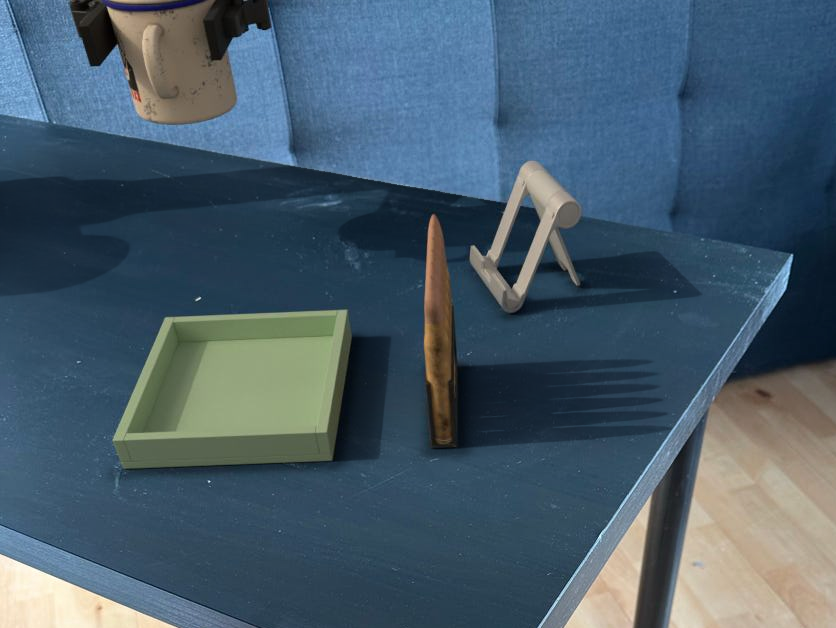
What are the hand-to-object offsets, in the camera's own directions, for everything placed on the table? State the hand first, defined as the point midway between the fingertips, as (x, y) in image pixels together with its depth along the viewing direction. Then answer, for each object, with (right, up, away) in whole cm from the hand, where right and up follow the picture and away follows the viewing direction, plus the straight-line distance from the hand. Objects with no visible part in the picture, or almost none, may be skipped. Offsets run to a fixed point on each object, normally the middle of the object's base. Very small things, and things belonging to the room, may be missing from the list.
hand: (150, 43), depth 72 cm
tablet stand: (+29, -15, +9) cm, 34 cm away
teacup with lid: (0, -1, +8) cm, 8 cm away
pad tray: (+8, -28, -2) cm, 29 cm away
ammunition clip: (+23, -29, -3) cm, 37 cm away
